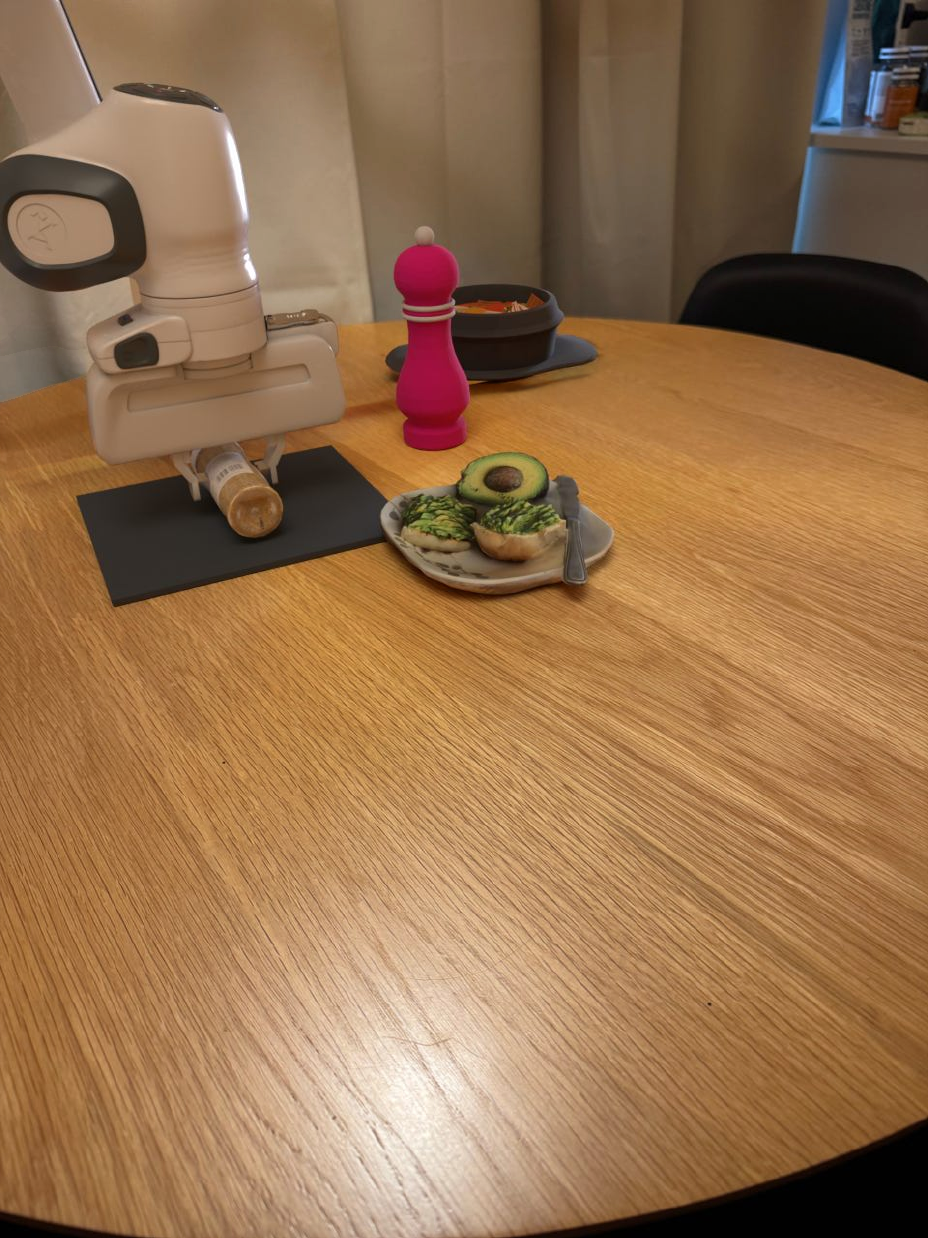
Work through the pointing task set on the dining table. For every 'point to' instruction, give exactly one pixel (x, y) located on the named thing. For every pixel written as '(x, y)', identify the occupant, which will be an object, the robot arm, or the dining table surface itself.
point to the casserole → (507, 334)
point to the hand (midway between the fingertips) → (234, 490)
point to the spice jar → (239, 489)
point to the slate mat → (226, 527)
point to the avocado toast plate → (498, 528)
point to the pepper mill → (430, 347)
